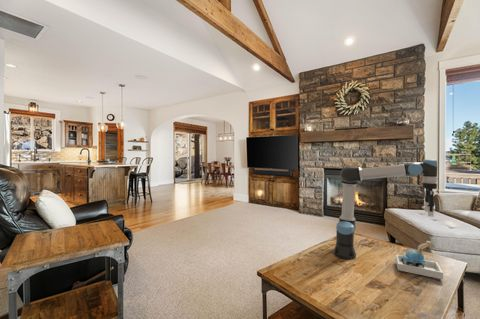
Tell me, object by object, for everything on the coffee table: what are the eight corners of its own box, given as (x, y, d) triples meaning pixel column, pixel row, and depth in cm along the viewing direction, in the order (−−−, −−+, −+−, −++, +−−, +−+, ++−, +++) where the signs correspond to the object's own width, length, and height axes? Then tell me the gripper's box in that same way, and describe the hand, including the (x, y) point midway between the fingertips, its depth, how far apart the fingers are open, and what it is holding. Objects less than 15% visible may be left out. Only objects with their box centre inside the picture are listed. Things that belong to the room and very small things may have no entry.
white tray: (397, 272, 149) (398, 263, 149) (395, 262, 162) (396, 254, 162) (442, 281, 138) (443, 272, 138) (436, 270, 151) (437, 262, 151)
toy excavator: (436, 272, 145) (437, 244, 144) (406, 269, 148) (406, 242, 147) (428, 265, 153) (429, 239, 152) (399, 262, 156) (400, 237, 156)
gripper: (440, 185, 145) (439, 219, 146) (433, 180, 167) (432, 210, 167) (425, 184, 149) (424, 217, 150) (420, 180, 171) (419, 209, 171)
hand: (429, 214), depth 159 cm, fingers open, 13 cm apart
